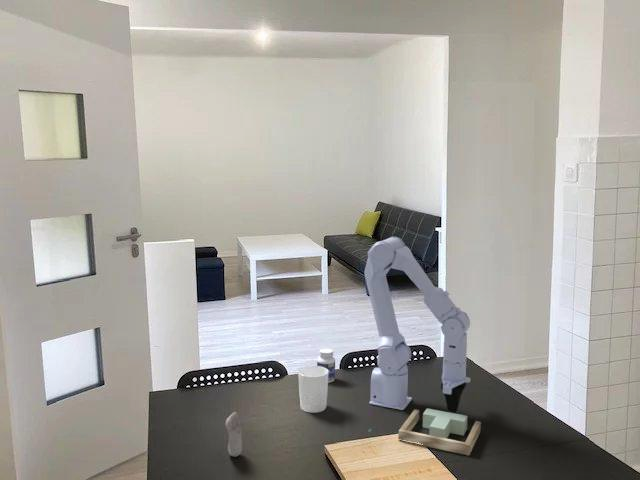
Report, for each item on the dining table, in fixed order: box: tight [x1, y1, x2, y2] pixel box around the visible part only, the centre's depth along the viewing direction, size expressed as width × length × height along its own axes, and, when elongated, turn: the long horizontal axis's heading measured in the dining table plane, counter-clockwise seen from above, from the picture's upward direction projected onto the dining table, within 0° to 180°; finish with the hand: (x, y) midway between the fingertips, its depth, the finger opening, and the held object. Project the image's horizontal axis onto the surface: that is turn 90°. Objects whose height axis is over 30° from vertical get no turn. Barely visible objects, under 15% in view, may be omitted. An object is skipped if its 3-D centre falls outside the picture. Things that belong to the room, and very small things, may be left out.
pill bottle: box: [316, 348, 336, 384], centre depth 180 cm, size 5×5×9 cm
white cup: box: [297, 365, 329, 414], centre depth 160 cm, size 8×8×10 cm
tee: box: [422, 408, 468, 439], centre depth 147 cm, size 10×10×4 cm
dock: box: [397, 409, 482, 456], centre depth 145 cm, size 16×13×2 cm
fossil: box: [225, 411, 243, 458], centre depth 136 cm, size 6×4×10 cm, turn 5°
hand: (452, 410), depth 157 cm, fingers closed
